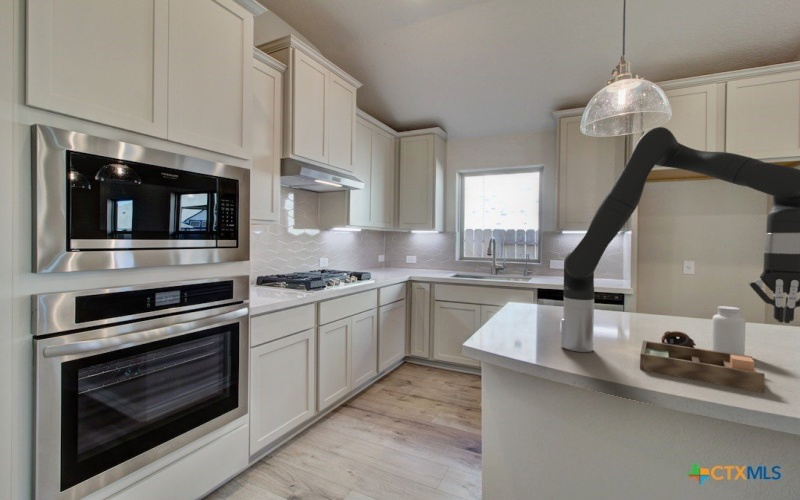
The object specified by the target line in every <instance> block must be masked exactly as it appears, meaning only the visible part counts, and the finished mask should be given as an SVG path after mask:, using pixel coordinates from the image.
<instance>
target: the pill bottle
mask: <svg viewBox="0 0 800 500" xmlns="http://www.w3.org/2000/svg"><path fill="white" fill-rule="evenodd" d="M740 313H741V308H739V307H735V306H729V305H728V306H727V305H726V306H723V305H722V306H721V305H719V306H717V314H714V315H713V316H712V317H711V319H712V320H711V351H718V352H724V353H731V354H738V355H745V350H746V325H747V324H746V323H747V322H746V320H745V319H744V318H743V317H741V314H740Z"/></svg>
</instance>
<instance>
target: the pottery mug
mask: <svg viewBox="0 0 800 500" xmlns="http://www.w3.org/2000/svg"><path fill="white" fill-rule="evenodd" d="M660 343H664V344H670V345H677V346H684V347H691V348H696V343H695V342H694V339H692V338H691V337H690V336H689V335H688V334H687V333H685V332H682V331H676V330H675V331H669V330H667V331H665V332H664V333H663V335H662V336H661V342H660Z"/></svg>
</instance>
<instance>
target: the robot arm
mask: <svg viewBox="0 0 800 500" xmlns="http://www.w3.org/2000/svg"><path fill="white" fill-rule="evenodd" d="M655 166H656V167H657V166H658V167H664V168H671V169H677V170H683V171H689V172H693V173H697V174H700V175H705V176H708V177H710V178H714V179H717V180H721V181H724V182H727V183H730V184H735V185H737V186H741V187H747V188H750V189H753V190H755V191H758V192H761V193H764V194H767V195H770V196H772V204H771V205H772V206H771V211H769V212H768V215H767V219H766V234H765V240H764V246H763V247H764V248H763V249H764V250H763V266H762V267H763V268H762V269H763V271H762V273H761V274H760V276H759V278H758V279H755V280H753V281H749V282H748V285H749V287H750V288H751V290H753V291H754V292H755V293H756V294H757V296H758V297H759V298H760V299H761V300H762V301H763V303H765V304H769V305H770V306H771V305H772V306H773V314H772V315H773V319H774V320H776V321H777V322H778V323H784V324H790V322H794V319H795V317H794V316H795V309H796V308H799V307H800V297H798V299H797V296H798V293H800V169H799V168H796V167H790V166H787V165H781V164H776V163H772V162H764V161H763V160H760V159H757V158H753V157H749V156H745V155H741V154H736V153H731V152H727V151H726V152H725V151H705V150H700V149H699V150H698V149H695V148H692V147H688V146H686V145H684V144H682V143H681V142H680V143H679V141H678V140H677V138H676V136H675V135H674V134H673V132H672V131H671V130H670V129H668V128H667V127H664V126H663V127H662V126H657V127H653V128H651V129H649V130H647V131H646V132H645V133H644V134H643V135H642V136H641V137H640V138H639V140H638V141H637V143H636V145H635V147H634V149H633V151H632V152H631V155H630V157H629V158H628V160H627V162H626V164H625V166H624V168H623V169H622V171H621V173H619V174H620V175H619V176H618V178H617V179H616V180H615V182H614V183H613V185H612V187H611V188H610V190H609V191H608V193H607V194H606V196H605V197H604V199H603V200H602V201H601V203H600V204H599V206H598V208H597V210H596V212H595V214H594V215H593V216H592V220H591V221H590V224H589V227H588V228H587V230H586V232H585V234H584V236H583V237H582V239H581V240H580V241H579V243H577V245H576V246H575V248H574V249H573V250H572V251H570V252H568V253H567V255H566V256H565V258H564V262H563V310H562V311H563V315H562V319H561V326H560V327H561V328H560V329H561V333H560V335H561V336H560V348H563V349H566V350H568V351H573V352H576V353H577V352H579V353H589V352H592V351H594V328H595V327H594V326H595V325H594V324H595V323H594V321H595V320H594V319H595V284H594V283H595V281H594V280H595V273H594V272H595V270H596V268H597V267H598V264H599V262H600V261H601V258H602V257H603V255H604V253H605V251H606V249H607V247H608V246H609V245H610V243H611V242H613V240H614V238H615V237H616V236H617V235H618V234H619V232H620V231H621V230H622V229H623V227H624V226H625V225H626V223H627V222H628V220H629V219H630V218H631V216H632V215H633V213H634V212H635V210H636V209H637V207H638V205H639V204H640V201H641V199H642V198H641V197H642V195H643V192H644V188H645V185H646V182H647V179H648V177H649V175H650V173H651V171H652V170H653V168H654V167H655ZM763 284H764V285H765V286H766V287H767V289H769V290H770V291H771V292H772V298H771V297H769V296H768V295H767V293H765V291H764V290H763V288H764V285H763ZM784 293H785V301H784V305H785V306H784V305H783V300H784V299H783V298H784Z"/></svg>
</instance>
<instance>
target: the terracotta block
mask: <svg viewBox="0 0 800 500" xmlns="http://www.w3.org/2000/svg"><path fill="white" fill-rule="evenodd" d="M730 368H735V369H741V370H748V371H754V368H755V361H754V360H753V357H752V358H750V357H743V356H736V355H730Z"/></svg>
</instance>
